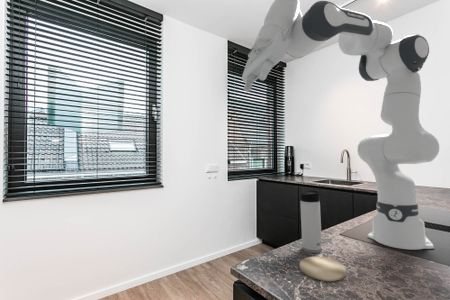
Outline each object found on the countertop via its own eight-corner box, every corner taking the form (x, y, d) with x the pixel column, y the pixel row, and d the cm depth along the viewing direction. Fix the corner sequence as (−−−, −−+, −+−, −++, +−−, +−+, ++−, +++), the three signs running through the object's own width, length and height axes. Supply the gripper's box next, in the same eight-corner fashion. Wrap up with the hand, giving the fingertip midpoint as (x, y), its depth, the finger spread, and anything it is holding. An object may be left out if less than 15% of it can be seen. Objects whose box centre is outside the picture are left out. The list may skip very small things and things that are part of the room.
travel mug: (324, 254, 75) (322, 192, 75) (303, 253, 76) (301, 192, 77) (320, 246, 81) (318, 189, 82) (301, 245, 82) (298, 189, 83)
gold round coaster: (308, 256, 73) (308, 253, 73) (350, 267, 66) (350, 263, 66) (292, 271, 64) (292, 268, 64) (339, 286, 56) (339, 282, 56)
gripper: (300, 31, 59) (283, 77, 56) (262, 64, 78) (248, 99, 76) (280, 17, 57) (261, 63, 55) (246, 54, 77) (231, 90, 74)
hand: (253, 84), depth 65 cm, fingers open, 8 cm apart
